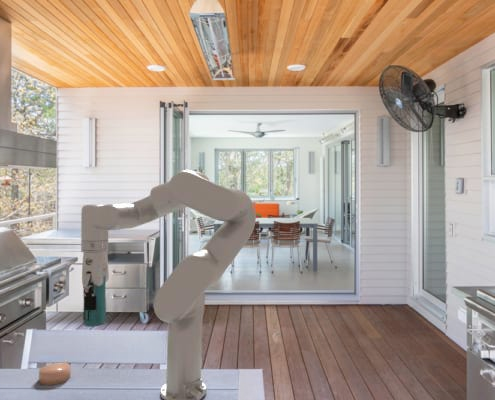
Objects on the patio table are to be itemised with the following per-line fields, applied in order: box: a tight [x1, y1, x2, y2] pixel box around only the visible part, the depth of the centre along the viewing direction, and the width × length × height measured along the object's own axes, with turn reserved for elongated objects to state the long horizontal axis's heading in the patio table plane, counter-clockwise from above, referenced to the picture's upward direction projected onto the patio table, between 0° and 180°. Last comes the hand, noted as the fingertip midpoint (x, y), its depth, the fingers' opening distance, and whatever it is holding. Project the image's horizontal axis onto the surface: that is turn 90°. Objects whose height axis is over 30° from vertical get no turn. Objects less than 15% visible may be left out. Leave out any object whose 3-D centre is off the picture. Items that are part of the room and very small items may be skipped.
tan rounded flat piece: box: [38, 362, 72, 386], centre depth 119 cm, size 8×8×3 cm
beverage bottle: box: [82, 276, 107, 328], centre depth 119 cm, size 6×7×20 cm
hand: (94, 306), depth 119 cm, fingers closed on beverage bottle, 6 cm apart
